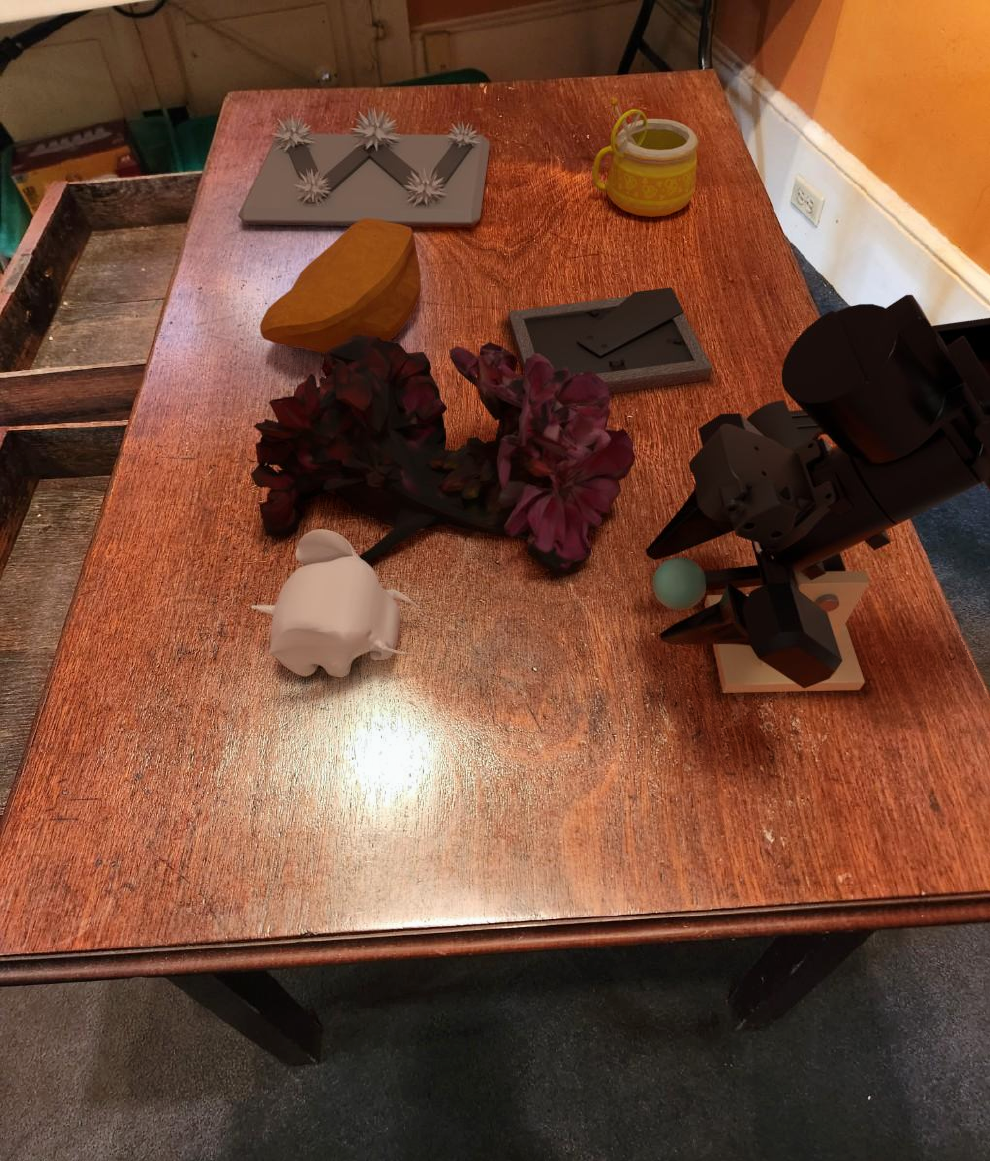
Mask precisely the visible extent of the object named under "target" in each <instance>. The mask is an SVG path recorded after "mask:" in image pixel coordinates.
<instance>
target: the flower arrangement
mask: <svg viewBox="0 0 990 1161" xmlns="http://www.w3.org/2000/svg"><path fill="white" fill-rule="evenodd" d="M531 355H532V356H533V357H530V358H526V362H525V366H524V371H523V370H522V374H521V373H516V371H517V368H518V364H519V358H517V356H516V355H515V354H514V353H512V352H511V351H509V350H508V349H506V348H504V347H503V346H501V345H498V344H496V343H494V342H491V341H488V343H486V344H483V345H481V347H480V348H479V355H477V356H476V355H475V354H474V353H473V352H472V351H470V350H468V349H465V348H463V347H461V346H455V347H453V348H451V349H450V350H449V358H450V360H451V362H452V363H453V365H454V367H455V369H456V370H457V372H458V374H460V375H461V376H462V377H464V379H466V380H467V381H468V382H470V384H472V385H473V386H474V387H475V388H476V389H477V394H478V396H479V400H480V402H481V403H482V405H483V406H484V407H485V409H486V410H487V411H488V413H489V415H491V417H492V418H493V420H494V421H498V424H497V428H496V433H495V438H494V440H487V441H486V442H484V441H483V440H482V439H481V438H480V437H479V436H470V437H467V440H466V442H465V444H462V445H461V446H460V447H458V448H457V449H446V446H447V430H446V428H445V423H444V422H445V421H444V416H443V415H444V413H446V412H447V409H448V407H447V406H446V404H445V403H444V402H443V401H442V399H441V393H440V389H439V386H438V385H437V382H436V381H435V379H434V377H433V375H432V373H431V370H432V364H431V361H430V359H429V357H428V355H426V353H425V351H416V352H415V351H414V352H407V351H406V349H405V348H404V347H403V346H402V345H401V344H400V343H399V342H394V341H382V340H381V339H380V338H379V337H374V336H365V335H356V334H354V335H353V336H351V337H349V338H347V339H346V342H345V343H343V344H341V345H338V346H336V347H334V348H332V349H330V350H329V351H327V352H326V353H325V354H323V358H322V359H323V360H322V364H321V371H322V373H323V375H324V376H323V375H321V377H320V378H318V382H319V386H318V384H317V379H316V375H315V374H313V373H312V372H311V373H309V374H308V375H307V378H306V380H304V381H302V382H300V383H298V384H297V386H296V388H295V391H294V393H293V395H292V396H281V398H280V397H279V398H273V399H271V400H269V401H268V403H269V405H270V407H271V410H272V411H273V413H274V414H275V418H276V420H277V421H275V420H270V419H267V418H264V420H263V421H262V422H256V424H254V425H253V428H254V429H255V430H257V431H258V432H260V434H261V438H260V439H259V440H260V441H259V442H256V443H255V444H254V445H255V446H254V447H255V454H256V461H257V463H258V465H257V466H256V468H254V469H253V471H252V472H251V473H250V476H251V478H252V480H253V483H254V485H255V486H257V487H258V488H268V489H270V490H269V491H268V492H267V494H266V496H267V498H266V501H264V502H262V503H260V504H259V512H260V515H261V517H262V520H263V525H264V530H265V535H266V536H269V537H273V538H276V539H277V538H286V537H290V536H291V535H293V534H294V533H295V532H297V531H298V529H299V526H300V523H301V520H302V504H304V503H306V502H308V501H311V500H312V499H314V498H316V497H319V496H320V495H324V494H328V493H330V494H332V495H334V496H336V497H338V499H340V500H342V501H343V503H345V504H346V505H347V507H348V508H350V509H351V510H355V511H357V512H360V513H361V514H364V515H366V516H369V517H371V518H374V519H376V520H378V521H380V522H382V523H385V524H387V525H389V526H391V527H392V528H393V529H391V530H390V531H389V532H388V533H387V534H386V535H385V536H383V537H382V538H380V539H379V540H378V541H377V542H376V543H375V544H374V545H373V546H372V547H370V548H369V549H368V550H366V551H365V552H363V553H361V554H360V555H358V556H359V557H360V558H361V559H362V560H364V561H365V562H366V563H367V564H368V565H370V564H371V563H372V562H374V561H376V560H377V559H379V558H381V557H382V556H383V555H385V554H387V553H388V552H390V551H391V550H392V549H394V548H395V547H397V546H399V545H400V544H402V543H403V542H405V541H406V540H408V539H410V538H411V537H413V536H414V535H416V534H418V533H419V532H421V530H426V529H431V528H436V527H440V526H444V525H447V526H451V527H455V528H459V529H463V530H467V531H470V532H475V533H481V534H486V535H490V536H495V537H500V538H507V539H514V540H521V541H524V542H527V544H526V545H527V548H526V549H527V550H526V551H527V552H526V553H527V555H528V557H530V558H531V559H533V560H534V561H535V562H536V563H537V564H539V565H541V566H542V567H543V568H544V569H545V570H546V571H548V572H549V573H550V574H552V576H554V577H560V576H565V575H570V574H574V573H576V571H577V570H578V569H580V567H581V566H582V565H583V564H584V563H585V562H586V561H587V560H588V559H589V558H590V557H591V555H592V546H591V544H590V542H589V540H588V536H589V535H590V534H592V533H593V532H595V531H596V530H597V529H598V528H599V527H600V526H601V525H602V524H603V518H604V517H605V516H606V515H609V514H610V512H611V510H612V509H611V506H612V505H613V503H615V501H616V499H617V498H618V496H619V495H620V494H621V492H622V489H621V488H622V487H621V484H620V481H621V480H623V479H625V478H627V476H628V474H629V473H630V471H631V470H632V467H633V465H634V464H635V461H636V454H635V451H634V446H633V441H632V439H631V437H630V435H629V433H628V432H627V431H626V430H625V429H624V428H621V429H618V430H615V429H614V428H613V429H607V425H608V421H609V418H610V414H611V409H610V408H609V406H610V403H611V401H612V400H611V399H612V394H609V392H608V389H607V387H606V385H605V383H604V381H603V380H602V379H601V378H599V377H598V376H597V375H595V374H594V373H593V372H591V371H587V372H583V373H579V374H577V375H575V374H574V373H573V376H570V373H569V371H568V368H567V366H566V367H564V368H563V369H561V370H559V371H555V370H554V368H553V366H552V364H551V363H550V361H549V360H547V359H546V358H545V357H543V356H542V355H541V354H539V353H537V354H531ZM272 466H278V467H279V468H280V469H278V470H275V469H274V468H273V467H272Z"/></svg>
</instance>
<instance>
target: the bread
mask: <svg viewBox="0 0 990 1161" xmlns="http://www.w3.org/2000/svg"><path fill="white" fill-rule="evenodd" d="M419 262H420V261H419V256H418V251H417V245H416V239H415V236H414V232H413V229H412V228H411V226H404V225H401V224H395V223H390V222H386V221H383V220H379V219H371V218H364V219H362V220H360V221H358V222H357V223H355V224H353V225H352V226H348V228H347V229H346V230H345V231H344V232H343V233H342V234H341V235H340V236H339V237H338V238H337V239H336V240H335V241H334V242H333V243H332V244H331V245H329V247H327V248H326V249H325V250H324V251H323V252H322V253H320V254H319V255H318V256H317V257H316V258H314V259H313V260H312V261H311V262H310V263H309V264H308V265H306V266H305V268H304V269H303V270H302V271H301V272H300V273H299V275H298V277H297V278H296V280H295V282H294V284H293V285H292V287H291V288H290V289H289V291H287V292H286V293H285V294H283V295H282V296H280V297H279V298H278V299H277V300H276V301H275V302H274V303H272V304H271V305H270V306H269V307H268V308H267V310H266V312H265V313H264V315H263V317H262V320H261V321H260V324H259V330H260V335H261V337H262V339H263V340H266V341H268V342H270V343H274V344H276V345H282V346H286V347H287V346H288V347H293V348H300V349H304V350H308V351H310V352H315V353H318V354H321V355H322V354H323V355H324V354H325V353H326V352H327V351H329V350H330V349H332V348H334V347H336V346H338V345H341V344H343V343H345V342H346V339H347V338H349V337H351V336H353V335H354V334H356V335H365V336H374V337H379V338H380V339H381V340H382V341H389V342H391V340H393V339H394V338H395V337H396V336H397V335H398V334H399V332H400V331H402V329H403V328H404V327H405V325H406V324H407V322H408V321H409V319H410V318H411V316H412V314H413V313H414V311H415V309H416V307H417V305H418V302H419V300H420V299H421V292H422V291H421V289H422V287H421V286H422V282H421V281H422V278H421V276H422V275H421V270H420V263H419Z"/></svg>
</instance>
